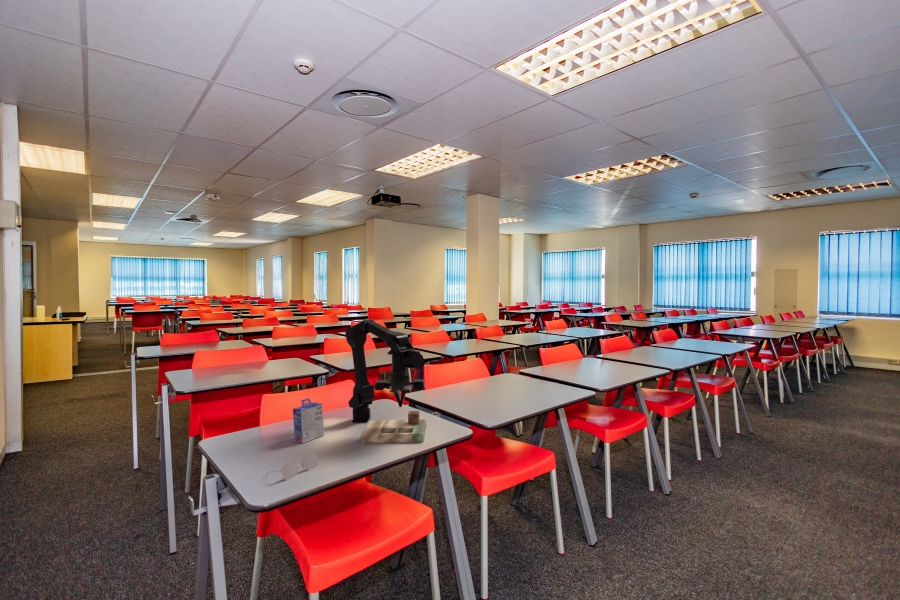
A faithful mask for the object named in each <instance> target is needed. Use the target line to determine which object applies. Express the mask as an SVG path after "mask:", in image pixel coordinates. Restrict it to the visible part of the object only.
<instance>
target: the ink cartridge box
mask: <svg viewBox="0 0 900 600" xmlns="http://www.w3.org/2000/svg"><path fill="white" fill-rule="evenodd" d="M301 404H302V405H301V406H297V407H294V408H292V415H293V417H292V418H293V431H294V442H297V443H300V444H304V443H307V442H310V441H312V440H315V439H317V438H321V437H323V436H325V428H324V425H325V424H324V407H323V406H324V405H323V403H319V402H315V401H313V402H312V401H311V399H310V398H305V399H301Z"/></svg>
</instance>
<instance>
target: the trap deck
mask: <svg viewBox="0 0 900 600" xmlns="http://www.w3.org/2000/svg"><path fill="white" fill-rule="evenodd" d="M426 430H427V419H420V421H419V424H417V425H408V419H386V420H381V419H377V420H375V419H374V420H373V419H372V420H370V421H369V422H368V424H367V426H366V427H365V428H364V430H363V432H362V434H361V443H362V444H377V443H378V444H382V443H384V444H385V443H424V442H425V435H426V432H427V431H426Z"/></svg>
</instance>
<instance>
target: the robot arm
mask: <svg viewBox="0 0 900 600" xmlns="http://www.w3.org/2000/svg"><path fill="white" fill-rule="evenodd" d="M344 334H345V338H346V343H347V344H348V346H350V348H351V354H352V362H353V369H354V380H355V382H354V383H355V384H354V387H352V388H353V389H352V396H351V398H350V400H349V401H348V407H349V408H352V420H351V423H369V422H368V421H369V420H370V419H371V415H372V414H371V408H370V405H372V404H373V402H374V399H375V394H376V392H375V391H384V389H386V388H389V393H392V394H393V395H394V397H395V399H396V401H397V404H398V406H399V407H398V408H402V407H403V404H404V400H405V397H406V394H407V393H408V392H410V391H411V390H410V389H411V388H413V389H414V390H415V391H416V390H424V389H425V387H426V383H425V379H424V378H422V379H421V378H419V379H414V380H413V381H411V379H410V376H409V375H408V369H413V370H421V369H422V368H423V366H424V364H425V358H424V356H423V355H422V354H421V350H415V348H414V345H413V344H412V342H411V340H410V338H409V336H408V334H406V333H404V332H401V331H394V330H391V329H389V328H387V327H385V326H383V325H382V324H380V323H378V322H376V321H375V320H374V319H363V320H361V321H360V322H359V323H356V324H354V325H352V326H348V327H347V328H346V329H345V333H344ZM369 334H372V335H373V336H376V337H377V338H379V339H380V340H383V341H384V343H385V345H386V346H387V347H389V349H390V350H389V351H387V355H391V378H390V382H389V381H388V380H387V379H378V380H376V382H375V383H374V384H373V383H370V381H369V378H368V371H367V362H366V356H365V355H366V353H365V344H366V342H367V340H368V339H367V336H368V335H369Z"/></svg>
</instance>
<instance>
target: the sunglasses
mask: <svg viewBox="0 0 900 600" xmlns="http://www.w3.org/2000/svg"><path fill="white" fill-rule="evenodd" d="M318 456H319V454H318V453H316V452H311V453H310V454H307V455H305V456H304V457H303V458H302V460H300V461H297V462H296V461H290V462H287V463H285V464H284V465H282V467H281V469H280V470H275V471H274V470H273V471H267V472H266V476H268V473H272V472H275V473H276V472H277V473H279V472H281V475H282V478H283V479H284V480H285V481H288V480H291V479H293V478H295V477H296V476H297V473H298V468H299V466H298V464H299V463H301V462H302V463H301V464H300V465H301V467H302V468H305V470H307V471H310V470H311V471H312V470H313V469H315V468H317V466H318V463H319V457H318Z"/></svg>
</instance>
